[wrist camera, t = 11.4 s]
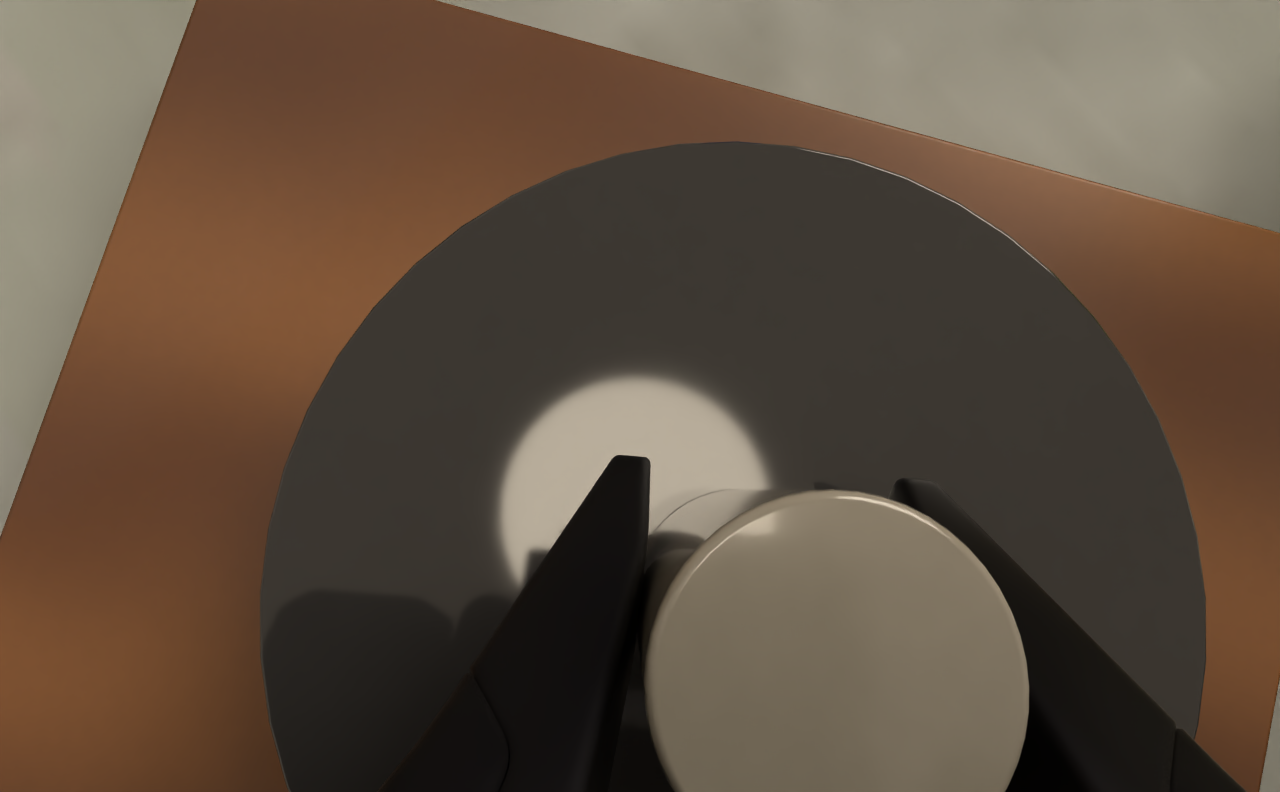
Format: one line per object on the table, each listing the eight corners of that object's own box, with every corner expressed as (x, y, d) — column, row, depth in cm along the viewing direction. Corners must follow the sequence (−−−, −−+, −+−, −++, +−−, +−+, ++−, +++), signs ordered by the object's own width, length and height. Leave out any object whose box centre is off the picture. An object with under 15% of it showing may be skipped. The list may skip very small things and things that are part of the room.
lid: (1302, 832, 12) (2039, 1202, 6) (474, 1214, 11) (291, 2129, 5) (941, 56, 13) (1226, -330, 7) (173, 348, 12) (-277, 205, 6)
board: (1054, 1266, 14) (1147, 1433, 12) (-49, 950, 14) (-190, 1048, 12) (1245, 288, 16) (1358, 252, 14) (277, 20, 16) (215, -63, 14)
